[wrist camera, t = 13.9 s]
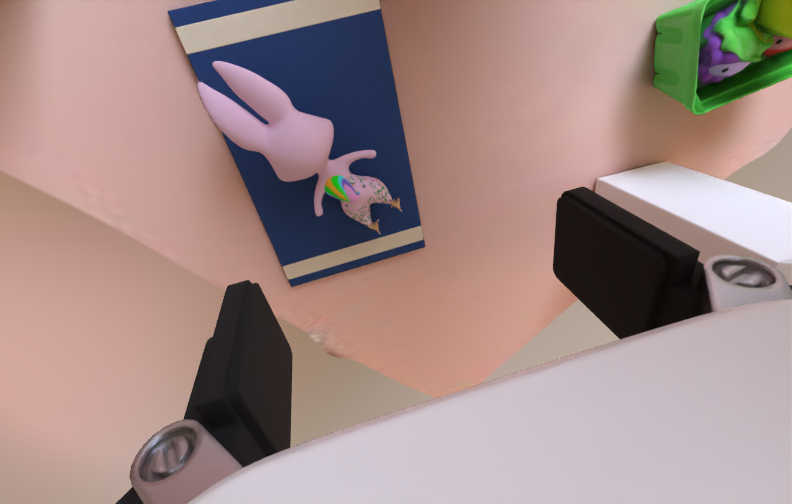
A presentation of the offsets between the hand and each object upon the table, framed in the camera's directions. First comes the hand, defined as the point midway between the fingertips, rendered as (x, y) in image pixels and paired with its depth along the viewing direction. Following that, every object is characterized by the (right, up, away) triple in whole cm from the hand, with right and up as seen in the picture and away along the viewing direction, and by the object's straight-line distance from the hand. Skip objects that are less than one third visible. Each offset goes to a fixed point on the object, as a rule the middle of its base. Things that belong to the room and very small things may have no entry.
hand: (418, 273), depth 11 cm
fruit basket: (+23, +18, +17) cm, 34 cm away
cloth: (-6, +8, +15) cm, 18 cm away
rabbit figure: (-7, +8, +15) cm, 18 cm away
